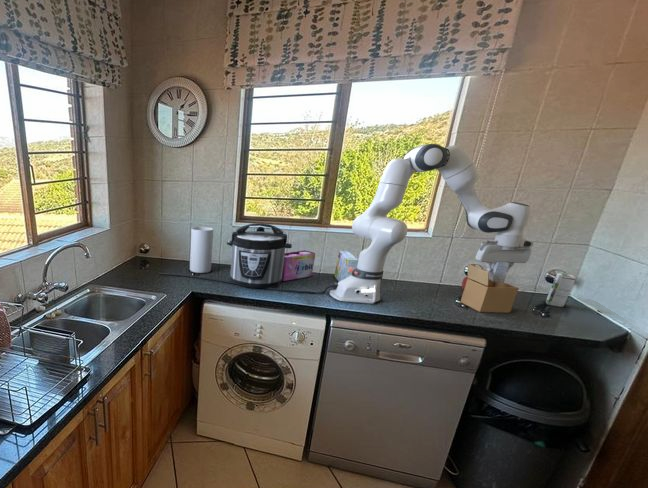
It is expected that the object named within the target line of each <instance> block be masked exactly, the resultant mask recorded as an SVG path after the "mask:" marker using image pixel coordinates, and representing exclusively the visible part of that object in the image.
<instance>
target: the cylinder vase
mask: <svg viewBox="0 0 648 488" xmlns="http://www.w3.org/2000/svg"><path fill="white" fill-rule="evenodd" d="M190 231H191V232H190V251H189V252H190V254H189V272H192V273H195V274H207V273H210V272H211V270H212V258H213V244H214V243H213V242H214V227H211V226H194V227H191V230H190Z"/></svg>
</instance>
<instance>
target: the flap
mask: <svg viewBox="0 0 648 488" xmlns="http://www.w3.org/2000/svg"><path fill="white" fill-rule="evenodd" d="M466 277H467V278H470V279H472V280H475V281H477V282H479V283H482V284H484V285H486V286H489V272H487V270H485V269H482V268H480V267H476V266H474V265H471V264H467V276H466Z"/></svg>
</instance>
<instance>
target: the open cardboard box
mask: <svg viewBox="0 0 648 488" xmlns="http://www.w3.org/2000/svg"><path fill="white" fill-rule="evenodd" d="M519 289H520V288H519V287H517V286H515V285H512V284H509V283H506V282H505V281H504V282H493V281H491V280H490V279H489V286H486V285H484V284H482V283H479V282H477V281H475V280H472V279H467V282H466V285H465V288H464V291H463V292H462V295H461V299H460V303H461V304H463V305H465V306H467V307H469V308H471V309H473V310H474V311H477V312H479V313H507V314H510V313H511V311H512V309H513V306H514V303H515V301H516V297H517V294H518V292H519Z"/></svg>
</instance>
